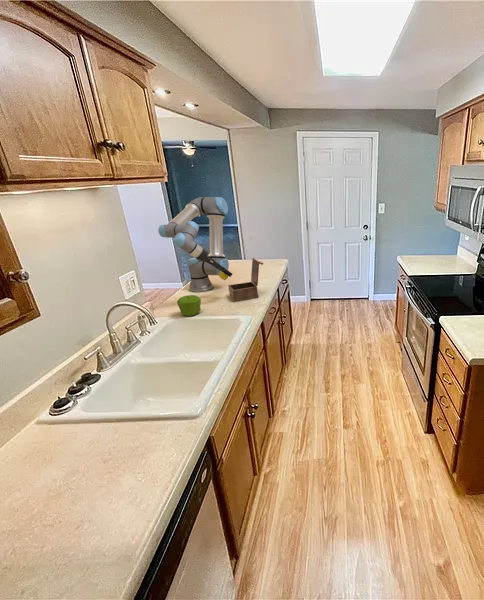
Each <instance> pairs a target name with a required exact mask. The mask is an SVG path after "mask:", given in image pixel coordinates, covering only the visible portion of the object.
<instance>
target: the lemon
mask: <svg viewBox="0 0 484 600" xmlns="http://www.w3.org/2000/svg"><path fill="white" fill-rule="evenodd" d="M222 267H223V265H222ZM218 270H219V269H218ZM218 276H219V278H220V279H221V280H223V281H226V280H228V278H229V276H228V275H226V274H225V273H223V272H221V270H220V272H219V275H218Z"/></svg>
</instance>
